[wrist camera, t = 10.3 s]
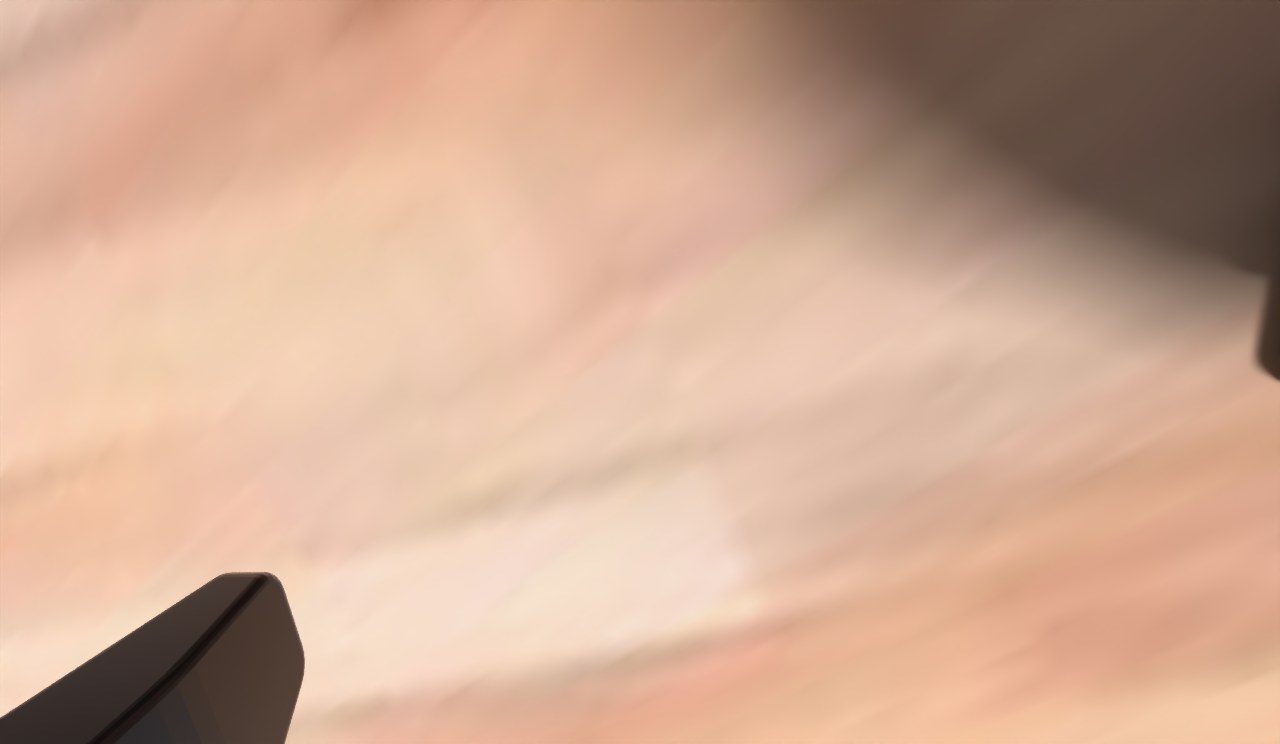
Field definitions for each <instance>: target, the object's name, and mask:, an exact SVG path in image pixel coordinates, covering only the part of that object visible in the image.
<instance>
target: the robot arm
mask: <svg viewBox="0 0 1280 744" xmlns="http://www.w3.org/2000/svg"><path fill="white" fill-rule="evenodd" d="M304 665H305V659H304V651H303V646H302V643H301V640H300V637H299V634H298V631H297V628H296V625H295V622H294V619H293V615H292V612H291V609H290V606H289V603H288V600H287V597H286V594H285V591H284V588H283V586H282V584H281V582H280V580H279V579H278V578H277V577H276V576H275V575H273V574H271V573H268V572H232V573H225V574H222V575H220V576H218V577H216V578H214V579H213V580H211V581H210V582H208V583H207V584H205V585H204V586H202V587H201V588H199V589H197V590H196V591H194V592H193V593H191V594H190V595H188V596H187V597H185V598H184V599H182V600H181V601H179V602H178V603H176V604H174V605H173V606H171V607H170V608H168V609H167V610H165V611H164V612H162V613H161V614H159V615H158V616H156V617H154V618H153V619H151V620H150V621H148V622H147V623H145V624H144V625H142V626H141V627H139V628H138V629H136V630H135V631H133V632H131V633H130V634H128V635H127V636H125V637H124V638H122V639H121V640H119V641H118V642H116V643H115V644H113V645H111V646H110V647H108V648H107V649H105V650H104V651H102V652H101V653H99V654H98V655H96V656H95V657H93V658H92V659H90V660H88V661H87V662H85V663H84V664H82V665H81V666H79V667H78V668H76V669H75V670H73V671H72V672H70V673H69V674H67V675H65V676H64V677H62V678H61V679H59V680H58V681H56V682H55V683H53V684H52V685H50V686H49V687H47V688H45V689H44V690H42V691H41V692H39V693H38V694H36V695H35V696H33V697H32V698H30V699H29V700H27V701H26V702H24V703H22V704H21V705H19V706H18V707H16V708H15V709H13V710H12V711H10V712H9V713H7V714H6V715H4V716H2V717H1V718H0V744H285V740H286V737H287V733H288V730H289V726H290V723H291V719H292V716H293V712H294V709H295V705H296V702H297V698H298V695H299V692H300V688H301V685H302V680H303V676H304Z"/></svg>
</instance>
